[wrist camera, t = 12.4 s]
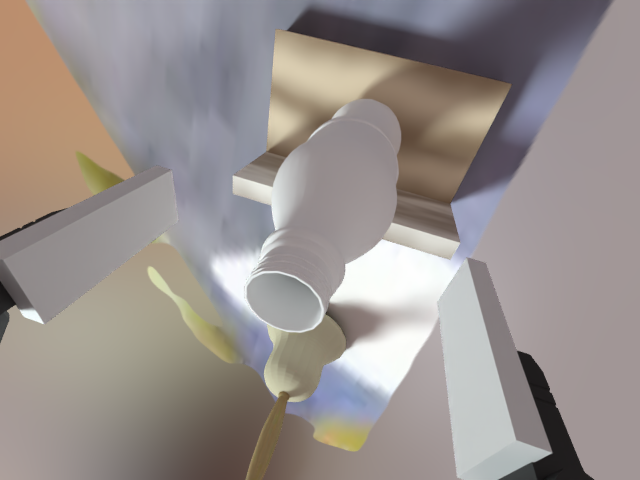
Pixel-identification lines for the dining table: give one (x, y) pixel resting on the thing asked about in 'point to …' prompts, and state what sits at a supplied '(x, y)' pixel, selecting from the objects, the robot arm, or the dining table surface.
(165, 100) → the dining table surface
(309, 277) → the water bottle
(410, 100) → the board
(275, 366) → the handbell
